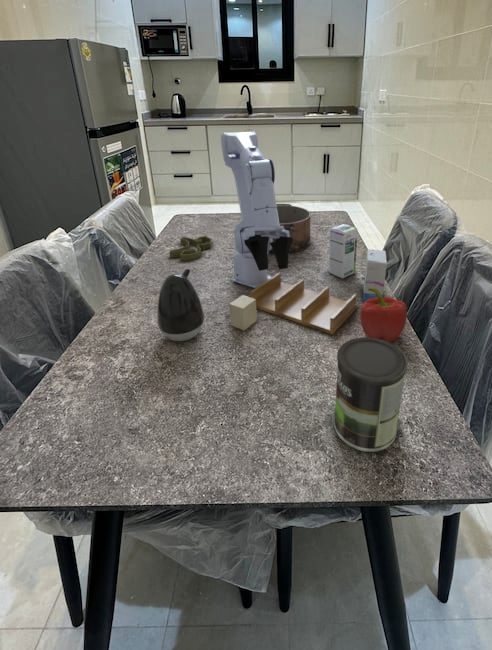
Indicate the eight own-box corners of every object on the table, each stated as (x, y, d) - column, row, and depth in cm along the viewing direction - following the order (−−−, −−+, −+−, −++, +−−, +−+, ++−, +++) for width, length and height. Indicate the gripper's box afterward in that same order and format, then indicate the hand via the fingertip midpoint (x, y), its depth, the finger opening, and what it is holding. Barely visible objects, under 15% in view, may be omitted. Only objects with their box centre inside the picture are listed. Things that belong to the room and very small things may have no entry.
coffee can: (341, 455, 58) (346, 383, 53) (328, 404, 68) (331, 338, 62) (407, 450, 59) (419, 378, 53) (384, 400, 68) (392, 334, 63)
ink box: (383, 304, 99) (387, 262, 94) (363, 302, 100) (366, 261, 95) (381, 288, 106) (385, 249, 102) (363, 287, 107) (366, 248, 102)
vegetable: (347, 327, 89) (350, 289, 85) (384, 317, 93) (388, 280, 89) (376, 354, 80) (380, 313, 76) (415, 341, 84) (421, 302, 80)
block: (231, 325, 91) (229, 303, 89) (244, 315, 95) (242, 294, 92) (244, 330, 89) (242, 308, 86) (257, 320, 93) (256, 299, 90)
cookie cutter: (183, 240, 143) (183, 235, 142) (215, 240, 142) (214, 235, 141) (166, 260, 126) (165, 254, 126) (202, 260, 125) (201, 255, 125)
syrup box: (342, 279, 112) (345, 232, 106) (327, 272, 116) (329, 227, 110) (355, 273, 115) (358, 227, 110) (340, 267, 119) (342, 222, 114)
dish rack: (249, 305, 99) (248, 292, 98) (279, 284, 110) (278, 271, 108) (332, 335, 87) (333, 320, 85) (357, 307, 97) (358, 293, 96)
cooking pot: (254, 228, 154) (253, 202, 150) (310, 228, 152) (310, 202, 148) (242, 258, 127) (240, 227, 122) (310, 259, 125) (310, 228, 121)
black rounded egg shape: (214, 325, 91) (208, 267, 85) (191, 351, 82) (182, 289, 76) (177, 318, 94) (168, 262, 88) (150, 342, 85) (139, 282, 79)
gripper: (258, 203, 80) (268, 267, 78) (296, 209, 92) (305, 265, 90) (233, 211, 84) (242, 272, 82) (273, 216, 96) (281, 270, 94)
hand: (273, 269), depth 87 cm, fingers open, 7 cm apart
